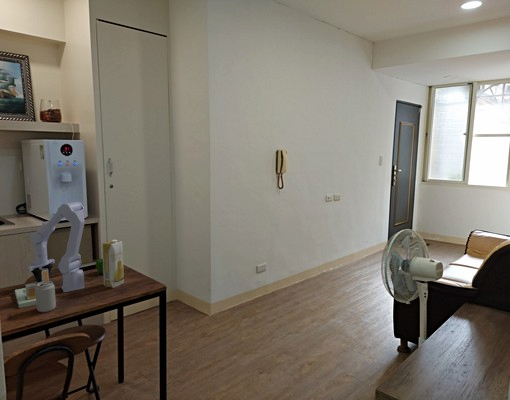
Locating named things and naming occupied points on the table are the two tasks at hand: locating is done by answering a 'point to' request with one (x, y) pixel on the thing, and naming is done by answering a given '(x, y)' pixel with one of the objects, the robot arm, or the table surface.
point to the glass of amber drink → (30, 291)
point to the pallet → (23, 298)
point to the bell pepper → (99, 265)
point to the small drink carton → (44, 275)
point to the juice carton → (113, 263)
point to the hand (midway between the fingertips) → (42, 280)
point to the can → (45, 296)
